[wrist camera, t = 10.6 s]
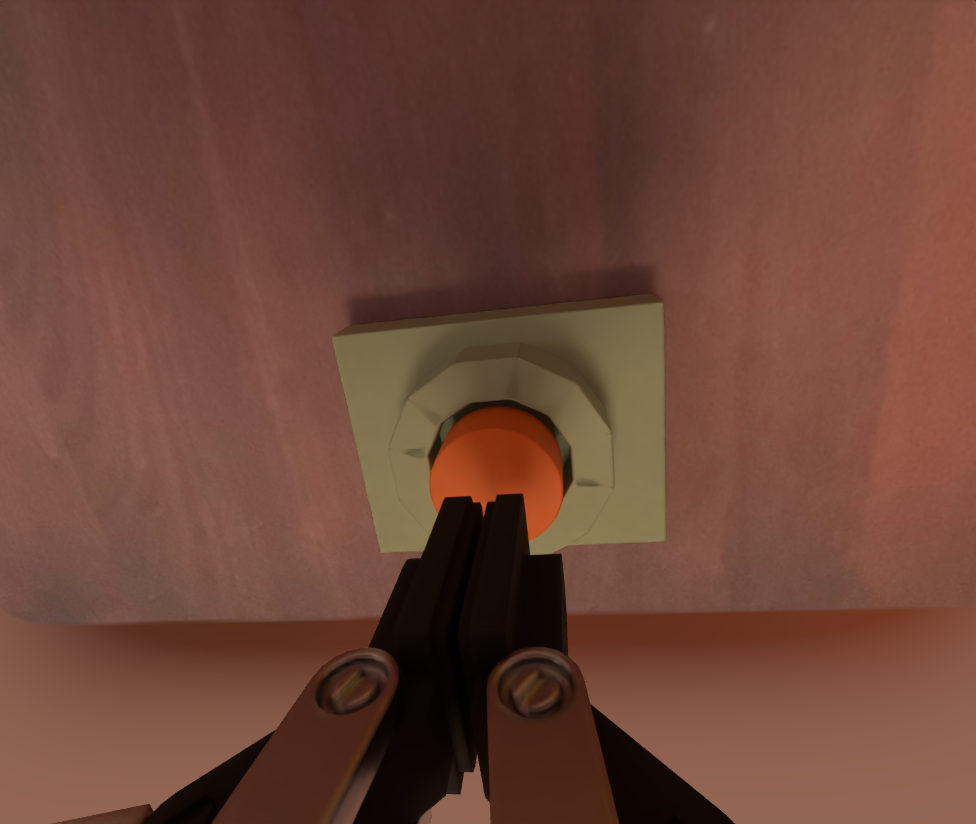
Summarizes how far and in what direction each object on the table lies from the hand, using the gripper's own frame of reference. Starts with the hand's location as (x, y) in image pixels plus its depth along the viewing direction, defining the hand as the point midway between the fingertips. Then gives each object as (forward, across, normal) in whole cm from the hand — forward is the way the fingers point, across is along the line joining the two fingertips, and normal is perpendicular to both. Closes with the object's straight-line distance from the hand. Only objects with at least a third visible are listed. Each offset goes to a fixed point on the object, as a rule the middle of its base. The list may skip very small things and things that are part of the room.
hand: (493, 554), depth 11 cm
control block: (+8, 0, 0) cm, 8 cm away
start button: (+5, 0, 0) cm, 5 cm away
